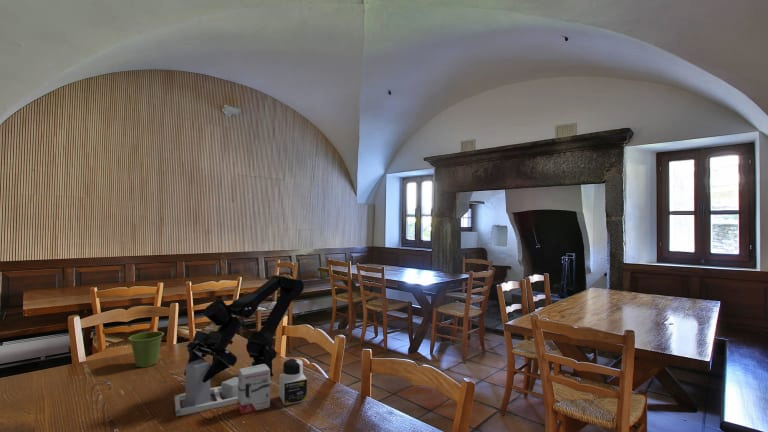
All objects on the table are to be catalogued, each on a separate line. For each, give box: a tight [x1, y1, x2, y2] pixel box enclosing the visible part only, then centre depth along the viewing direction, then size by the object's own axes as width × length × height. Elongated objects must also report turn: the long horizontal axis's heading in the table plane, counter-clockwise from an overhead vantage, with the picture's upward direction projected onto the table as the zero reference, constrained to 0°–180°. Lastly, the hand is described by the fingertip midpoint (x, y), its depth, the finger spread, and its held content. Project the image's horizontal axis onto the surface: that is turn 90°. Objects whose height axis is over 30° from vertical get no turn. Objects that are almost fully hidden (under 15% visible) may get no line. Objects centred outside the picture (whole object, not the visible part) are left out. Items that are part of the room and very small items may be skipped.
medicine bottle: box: [278, 358, 308, 406], centre depth 125 cm, size 7×7×12 cm
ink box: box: [237, 364, 271, 415], centre depth 119 cm, size 8×5×12 cm, turn 123°
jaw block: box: [185, 359, 212, 406], centre depth 121 cm, size 5×5×12 cm
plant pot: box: [128, 330, 165, 368], centre depth 153 cm, size 12×12×11 cm
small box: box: [220, 376, 238, 399], centre depth 127 cm, size 6×6×5 cm
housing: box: [174, 386, 238, 418], centre depth 124 cm, size 22×12×2 cm, turn 120°
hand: (194, 378), depth 120 cm, fingers open, 9 cm apart
